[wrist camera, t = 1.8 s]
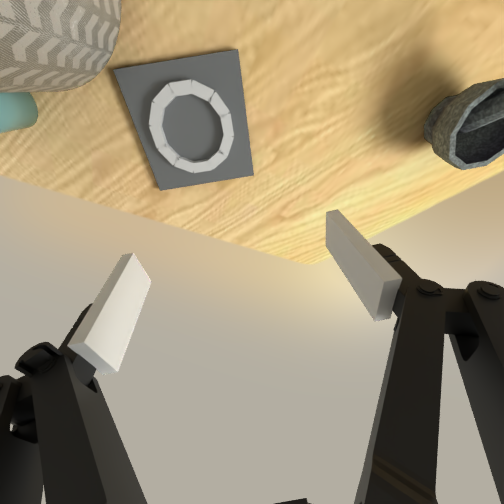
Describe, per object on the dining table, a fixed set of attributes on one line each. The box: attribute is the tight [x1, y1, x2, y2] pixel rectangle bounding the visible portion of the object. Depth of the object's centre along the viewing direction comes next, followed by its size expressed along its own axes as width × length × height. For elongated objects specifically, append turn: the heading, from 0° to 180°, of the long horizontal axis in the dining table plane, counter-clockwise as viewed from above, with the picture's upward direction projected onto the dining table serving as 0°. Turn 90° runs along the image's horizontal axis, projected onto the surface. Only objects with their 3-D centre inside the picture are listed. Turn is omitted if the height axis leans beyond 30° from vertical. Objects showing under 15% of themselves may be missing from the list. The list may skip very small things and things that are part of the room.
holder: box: [113, 49, 254, 191], centre depth 29 cm, size 14×14×2 cm
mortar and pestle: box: [424, 78, 504, 170], centre depth 27 cm, size 11×9×12 cm
